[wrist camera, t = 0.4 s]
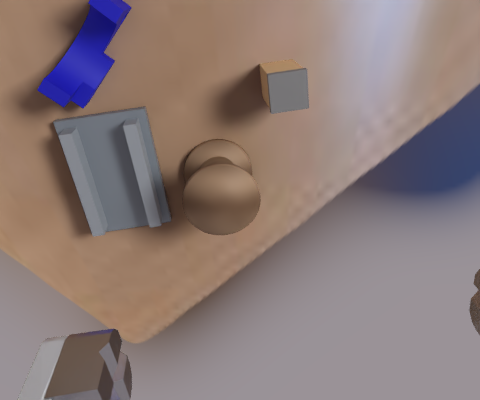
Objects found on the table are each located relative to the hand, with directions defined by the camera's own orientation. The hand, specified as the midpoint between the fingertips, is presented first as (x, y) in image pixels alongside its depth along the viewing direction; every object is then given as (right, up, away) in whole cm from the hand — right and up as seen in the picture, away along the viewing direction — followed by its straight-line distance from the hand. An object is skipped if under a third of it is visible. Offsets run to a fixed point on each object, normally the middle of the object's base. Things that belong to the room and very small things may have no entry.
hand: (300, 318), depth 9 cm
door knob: (-4, +7, +47) cm, 47 cm away
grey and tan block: (+3, +18, +42) cm, 46 cm away
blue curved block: (-18, +20, +39) cm, 47 cm away
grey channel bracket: (-17, +6, +45) cm, 49 cm away
